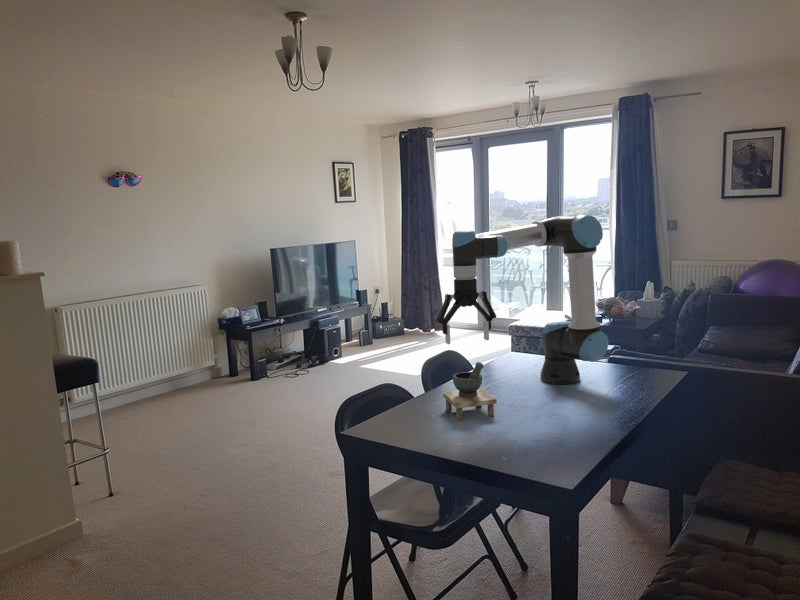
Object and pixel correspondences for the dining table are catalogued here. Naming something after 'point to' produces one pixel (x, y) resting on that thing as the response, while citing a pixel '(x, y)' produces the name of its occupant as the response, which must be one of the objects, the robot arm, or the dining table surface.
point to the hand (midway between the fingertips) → (467, 341)
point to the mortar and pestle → (468, 381)
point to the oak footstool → (469, 402)
